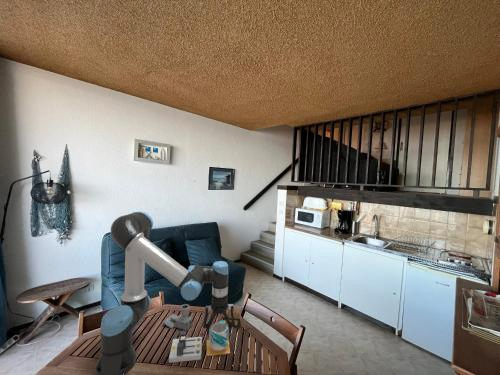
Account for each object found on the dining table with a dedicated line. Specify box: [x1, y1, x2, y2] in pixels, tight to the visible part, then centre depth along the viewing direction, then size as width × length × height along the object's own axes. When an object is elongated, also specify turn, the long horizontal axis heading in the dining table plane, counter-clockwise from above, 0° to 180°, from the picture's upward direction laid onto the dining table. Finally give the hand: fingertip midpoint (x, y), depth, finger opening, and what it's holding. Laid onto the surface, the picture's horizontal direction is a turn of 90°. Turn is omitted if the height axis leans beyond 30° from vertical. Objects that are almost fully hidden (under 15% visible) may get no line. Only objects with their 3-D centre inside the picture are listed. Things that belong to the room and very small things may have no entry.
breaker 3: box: [177, 342, 184, 356], centre depth 103 cm, size 3×3×4 cm
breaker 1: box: [178, 330, 186, 343], centre depth 110 cm, size 3×3×4 cm
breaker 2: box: [180, 335, 187, 349], centre depth 107 cm, size 3×3×4 cm
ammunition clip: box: [221, 304, 242, 328], centre depth 126 cm, size 11×2×12 cm, turn 87°
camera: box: [161, 303, 193, 331], centre depth 125 cm, size 9×12×15 cm
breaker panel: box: [168, 336, 203, 364], centre depth 107 cm, size 14×12×2 cm
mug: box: [210, 319, 229, 351], centre depth 110 cm, size 8×12×8 cm
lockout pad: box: [206, 338, 231, 357], centre depth 110 cm, size 11×10×1 cm
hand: (218, 339), depth 110 cm, fingers closed on mug, 8 cm apart
